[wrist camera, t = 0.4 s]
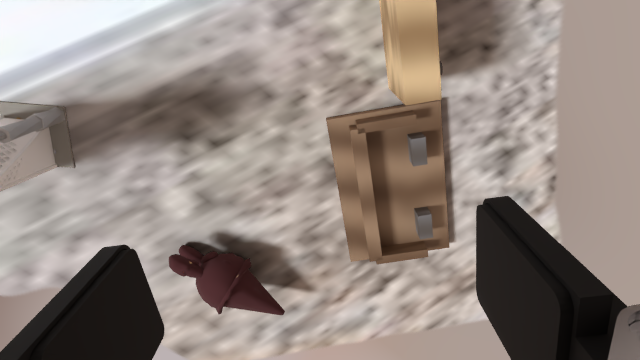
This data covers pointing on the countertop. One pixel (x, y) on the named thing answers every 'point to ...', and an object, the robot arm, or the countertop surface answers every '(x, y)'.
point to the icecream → (224, 280)
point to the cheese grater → (32, 141)
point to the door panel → (412, 49)
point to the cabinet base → (391, 181)
